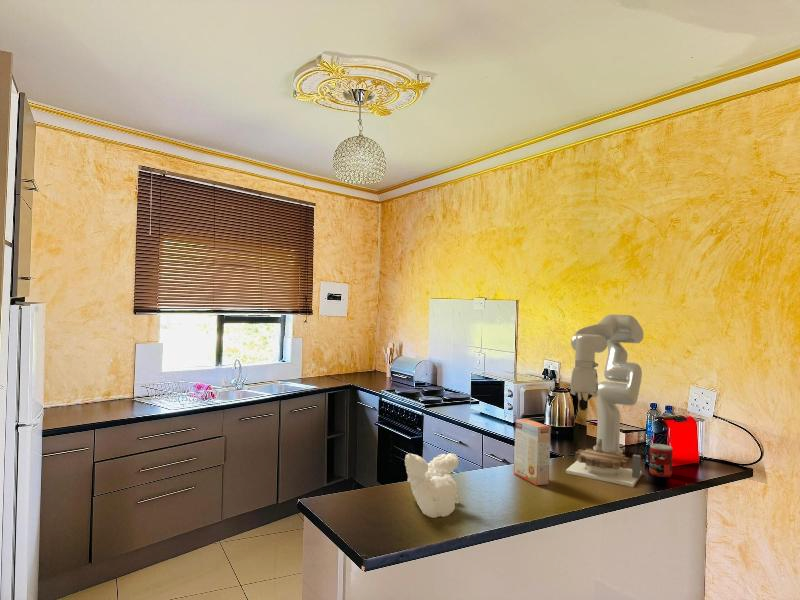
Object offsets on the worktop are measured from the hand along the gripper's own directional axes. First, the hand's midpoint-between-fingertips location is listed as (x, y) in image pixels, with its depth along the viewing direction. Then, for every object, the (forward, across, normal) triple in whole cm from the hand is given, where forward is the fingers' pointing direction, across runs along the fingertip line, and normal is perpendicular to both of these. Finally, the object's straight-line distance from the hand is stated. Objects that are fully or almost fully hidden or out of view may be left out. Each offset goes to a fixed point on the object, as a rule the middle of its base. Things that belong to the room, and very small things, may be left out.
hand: (583, 409), depth 206 cm
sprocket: (+18, -9, +5) cm, 21 cm away
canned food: (+23, -28, -10) cm, 37 cm away
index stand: (+23, -10, +5) cm, 25 cm away
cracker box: (+23, +10, +31) cm, 40 cm away
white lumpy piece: (+24, +26, +76) cm, 84 cm away
